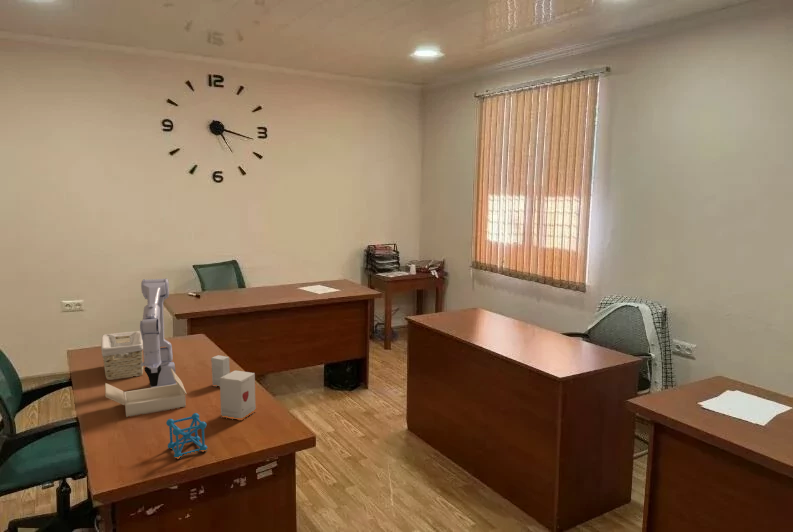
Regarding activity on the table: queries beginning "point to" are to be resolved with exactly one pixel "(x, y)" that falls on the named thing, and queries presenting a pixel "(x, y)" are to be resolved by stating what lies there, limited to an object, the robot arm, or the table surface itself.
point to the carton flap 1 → (114, 394)
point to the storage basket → (122, 355)
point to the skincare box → (219, 368)
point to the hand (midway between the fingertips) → (153, 385)
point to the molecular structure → (186, 434)
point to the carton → (154, 399)
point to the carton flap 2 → (178, 381)
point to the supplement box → (237, 394)
